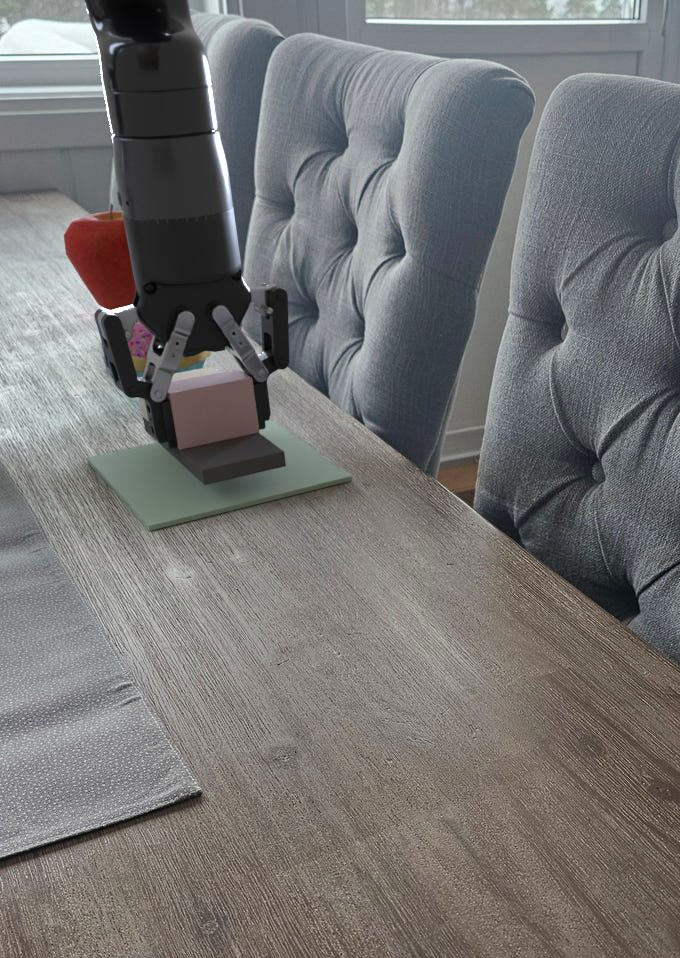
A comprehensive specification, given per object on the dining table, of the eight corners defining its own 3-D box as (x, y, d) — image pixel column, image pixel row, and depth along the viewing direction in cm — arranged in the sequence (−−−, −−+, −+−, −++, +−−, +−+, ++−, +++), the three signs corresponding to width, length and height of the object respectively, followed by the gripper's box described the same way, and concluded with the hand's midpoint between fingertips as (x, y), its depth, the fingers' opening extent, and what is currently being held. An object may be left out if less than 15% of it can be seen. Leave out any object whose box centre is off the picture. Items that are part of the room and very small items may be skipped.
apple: (159, 297, 137) (141, 190, 130) (192, 315, 129) (174, 203, 122) (68, 312, 131) (44, 202, 125) (97, 332, 124) (73, 216, 117)
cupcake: (195, 413, 100) (172, 274, 94) (107, 410, 102) (78, 273, 95) (230, 383, 107) (211, 252, 101) (146, 380, 109) (122, 251, 102)
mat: (149, 531, 79) (148, 526, 79) (87, 462, 91) (86, 457, 91) (352, 480, 86) (352, 475, 86) (270, 422, 98) (270, 417, 98)
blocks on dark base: (286, 466, 84) (277, 394, 81) (204, 485, 81) (192, 411, 78) (219, 415, 94) (209, 349, 91) (144, 430, 91) (132, 363, 88)
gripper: (87, 225, 71) (137, 472, 80) (295, 199, 78) (320, 431, 87) (58, 208, 77) (107, 441, 86) (254, 185, 83) (281, 405, 92)
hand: (214, 435), depth 86 cm, fingers closed on blocks on dark base, 6 cm apart
